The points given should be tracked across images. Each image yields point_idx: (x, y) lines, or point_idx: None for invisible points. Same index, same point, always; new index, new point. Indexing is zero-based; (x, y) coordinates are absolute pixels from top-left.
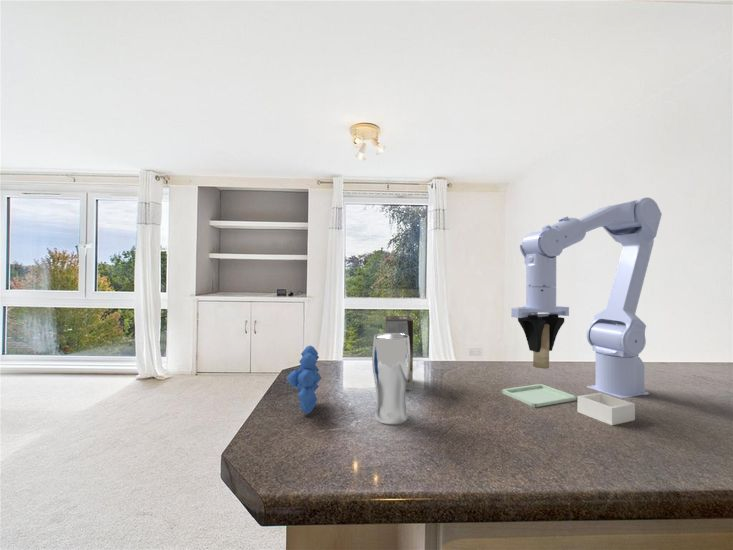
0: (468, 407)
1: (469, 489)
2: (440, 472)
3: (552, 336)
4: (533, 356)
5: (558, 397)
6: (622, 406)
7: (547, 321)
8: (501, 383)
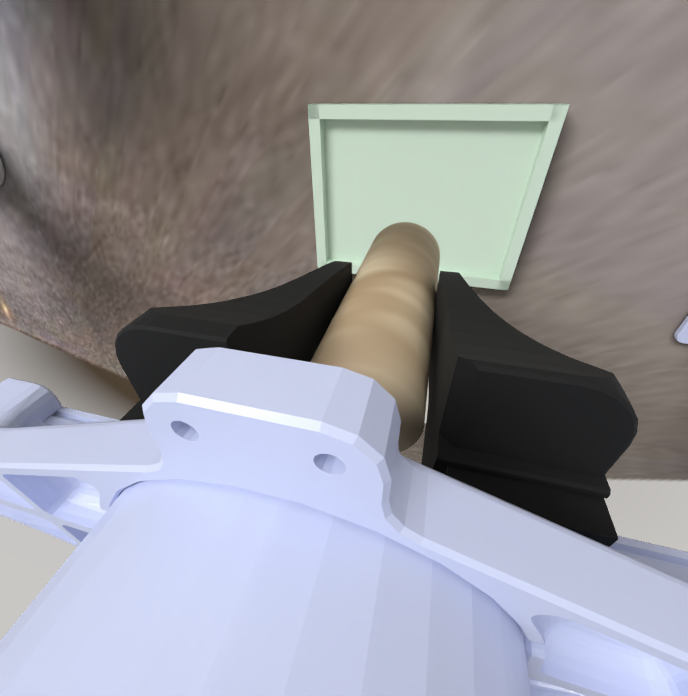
0: (158, 165)
1: (101, 364)
2: (74, 333)
3: (429, 393)
4: (367, 254)
5: (468, 245)
6: (424, 422)
7: (429, 454)
8: None
